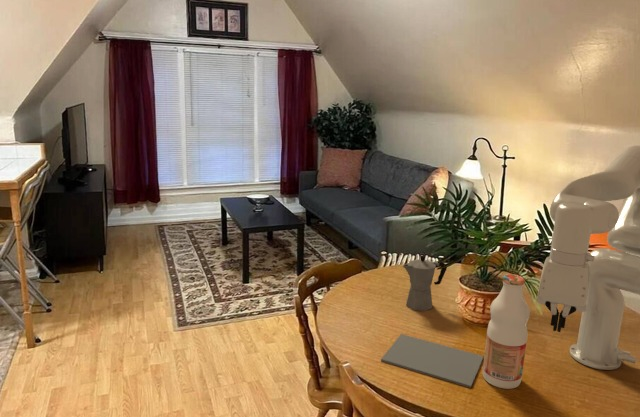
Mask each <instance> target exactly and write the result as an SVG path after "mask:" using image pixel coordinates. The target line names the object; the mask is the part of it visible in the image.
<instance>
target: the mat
mask: <svg viewBox="0 0 640 417" xmlns="http://www.w3.org/2000/svg"><path fill="white" fill-rule="evenodd" d="M380 361H381V362H383V363H387V364H389V365H393V366H397V367H399V368H403V369H407V370H410V371H413V372H416V373H421V374H423V375H427V376H430V377H432V378H436V379H440V380H443V381H446V382H449V383H453V384H457V385H460V386H463V387H467V388H470V389H471V388H472V386H473V384H474V382H475V379H476V376H477V375H478V371H479V370H480V367H481V365H482V363H483V361H484V355H481V354H477V353H474V352H470V351H466V350H463V349H459V348H456V347H451V346H447V345H444V344H440V343H437V342H433V341H429V340H425V339H421V338H417V337H414V336H410V335H406V334H402V333H401V334H400V335H399V336H398V338H396V340H394V342H393V343H392V345H391V346H390V347H389V349H387V351H386V352H385V354H383V356H382V357H381V358H380Z"/></svg>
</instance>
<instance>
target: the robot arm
mask: <svg viewBox="0 0 640 417" xmlns="http://www.w3.org/2000/svg"><path fill="white" fill-rule="evenodd" d="M621 200H622V203H621V204H622V205H620V206H621V207H620V209H618V207H616V205H614V204H613V203H611V201H612V202H613V201H621ZM549 217H550V218H551V220H552V221H553V222H554V223H553V224H554V225H553V229H552V230H553V232H552V238H551V245H550V253H549V256H547V257H546V258H545V260H544V263H543V267H542V271H541V273H540V274H541V275H540V280H539V285H538V286H539V287H538V292H537V296H536V298H535V301H536V303H538V304H540V305H543V306H545V307H546V308H547V309H548V310H549V312H550V314H551V321H550V326H552V327H553V328H552V331H553V332H558V333H561V332H562V329H565V327H566V321H567V320H566V319H567V318H568V317H569V316H570V315H571V314H574V313H576V312H577V313H581V318H580V324H579V328H578V329H579V330H578V336H577V341H576V342H577V343H573V344H572V345H570V347H569V355H570V356H571V357H572V358H573V360H575V361H576V362H579V363H580V364H582V365H584V366H586V367H590V368H593V369H597V370H603V371H605V370H606V371H610V370H613V371H614V370H617V369H618V368H620V367H621V365H622V361H625V362H627V363H631V364H636V363H637V362H636V361H637V356H635V355H631V351H629V350H628V351H627V350H622V349H621V348H619V338H620V333H621V329H622V328H621V327H622V322H623V316H624V311H625V306H626V304H625V303H626V301H625V297H624V296H623V293H622V291H624V292H629V293H630V294H631V293H632V294H635V295H637V296H640V145H633V146H628V147H626V148H625V149H623V150H622V151H621V153H620V154H619V155H618V156H616V158H615V159H614V160H613V161H612V162H611V163H610V164H609V165H608V166H607V168H605V169H604V170H603V171H600V172H596V173H593V174H590V175H587V176H584V177H580V178H577V179H575V180H572V181H571V182H569V183H568V184H566V185H565V186H564V187H563V188H562V189H561V190H560V191H559V192H558V193H557V195H556V196H555V197H554V199H553V200H552V202H551V204H550V207H549ZM605 233H606V234H607V235H606V241H607V243H608V245H609V246H610V247H611V248H612V249H611V248H606V247H603V248H602V247H601V248H596V249H593V250H592V251H591V252H590V253H589V246H590V240H591V235H592V234H593V235H597V234H600V235H601V234H605ZM558 305H563V308H562V310H561V311H559V308H558Z"/></svg>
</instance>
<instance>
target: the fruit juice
mask: <svg viewBox="0 0 640 417" xmlns="http://www.w3.org/2000/svg"><path fill="white" fill-rule="evenodd" d="M502 283H503V284H502V285H503V286H502V288H501V290H500V292H499V293H498V295H497V297H495V298H494V299H493V300H492V302H491V304H490V309H489V312H490V320H489V322H488V323H487V324H488V325H487V329H486V339H485V347H484V348H485V349H484V354H483V356H484V357H483V366H482V376H483V379H484V381H486V382H487V383H489V384H490V385H492V386H494V387H497V388H498V389H507V390H511V389H515V388H518V387H519V386H520V385H521V383H522V378H523V371H524V370H523V369H524V364H525V356H526V348H527V343H528V342H527V341H528V328H527V324H528V321H529V319H530V313H531V312H530V311H531V310H530V307H529V305H528V303H527V302H526V300H525V297H524V293H523V287H524V286H525V278H524V277H523V276H521V275H518V274H513V273H506V274H504V275H503V277H502Z"/></svg>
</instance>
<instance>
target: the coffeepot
mask: <svg viewBox="0 0 640 417" xmlns="http://www.w3.org/2000/svg"><path fill="white" fill-rule="evenodd" d="M438 262H440V263H438ZM444 265H446V263H445V262H444V261H430V260H427V259H426V256H425V255H420V259H417V258H416V259H413V260H409V261H408V262H407V263H405V264H403V266H402V267H403V268H404V269H405V270H406V272H407V274H408V276H409V283H410V287H409V291H408V295H407V299H406V306H407V307H408V309H411V310H412V311H417V310H418V311H419V312H426V311H431V309H433V301H432V300H433V299H432V288H431V285H432V284H434V285H437V286H438V285H440V284H441V282H442V281H443V278H444V276H445V273H446V271H447V269H448V266H447V267H445V268H442V267H443V266H444ZM437 268H438V269H439V268H441V269H440V272H439V275H438V277H437V281H434V280H433V279H434V274H435V270H436V269H437ZM433 281H434V283H433Z"/></svg>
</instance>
